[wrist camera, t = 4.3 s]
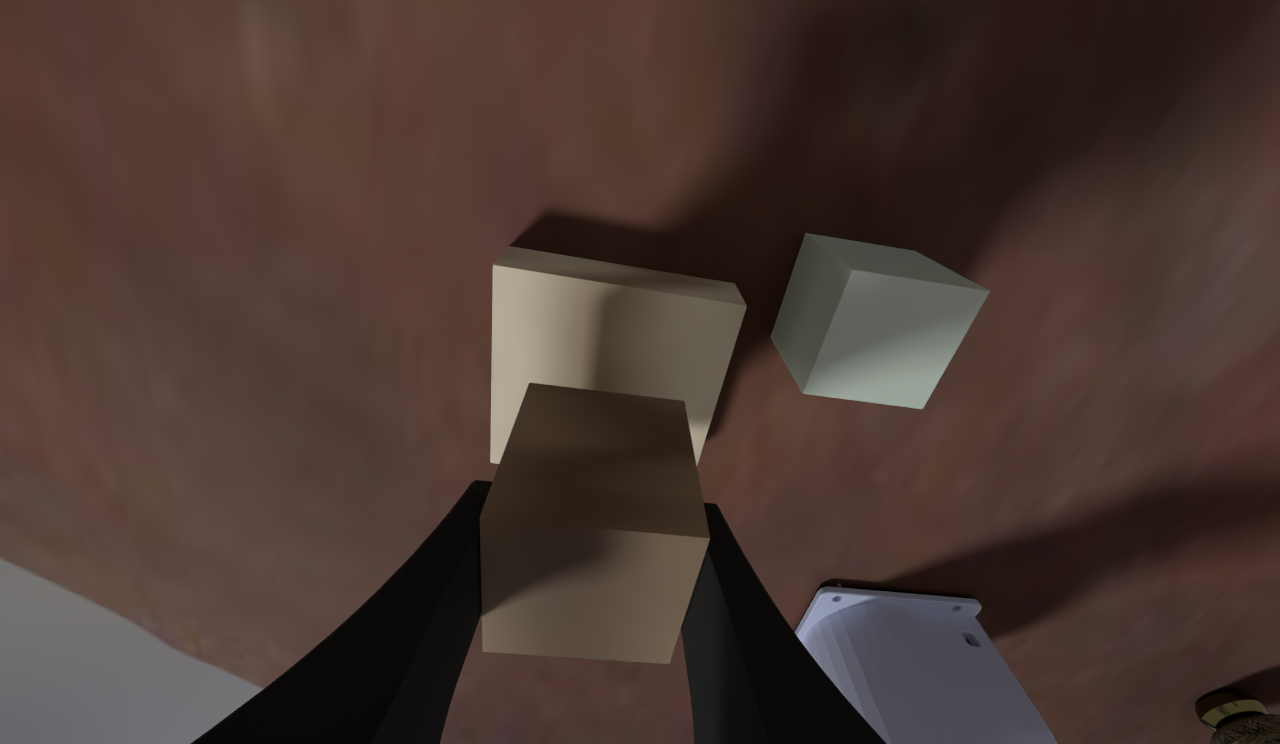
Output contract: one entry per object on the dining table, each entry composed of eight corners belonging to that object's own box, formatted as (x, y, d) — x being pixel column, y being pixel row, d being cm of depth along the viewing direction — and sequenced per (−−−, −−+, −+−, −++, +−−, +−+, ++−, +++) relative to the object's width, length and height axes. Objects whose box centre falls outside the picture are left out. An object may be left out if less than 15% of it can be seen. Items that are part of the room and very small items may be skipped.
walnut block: (684, 401, 14) (709, 538, 9) (658, 510, 16) (668, 663, 11) (529, 382, 13) (479, 517, 9) (524, 497, 15) (482, 651, 11)
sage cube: (913, 250, 16) (990, 291, 13) (867, 350, 18) (922, 409, 15) (804, 232, 16) (852, 269, 12) (769, 336, 18) (802, 393, 14)
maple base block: (732, 279, 17) (746, 306, 15) (684, 447, 21) (690, 486, 19) (511, 242, 16) (492, 264, 14) (505, 424, 20) (490, 462, 18)
